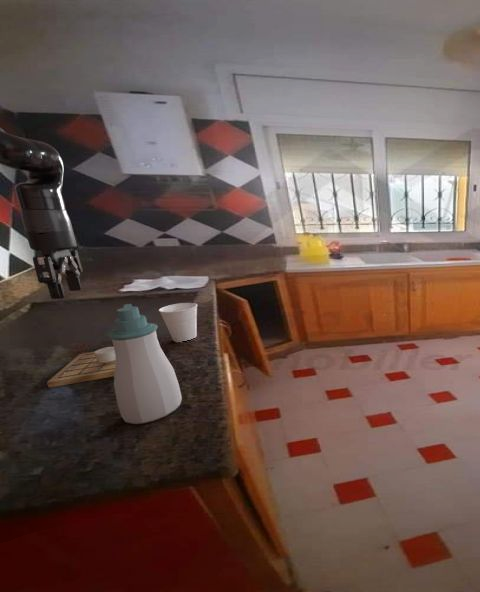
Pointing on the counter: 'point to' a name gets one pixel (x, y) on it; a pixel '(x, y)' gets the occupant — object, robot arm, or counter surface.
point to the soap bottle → (141, 370)
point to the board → (82, 371)
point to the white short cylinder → (105, 355)
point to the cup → (180, 320)
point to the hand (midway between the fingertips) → (67, 294)
